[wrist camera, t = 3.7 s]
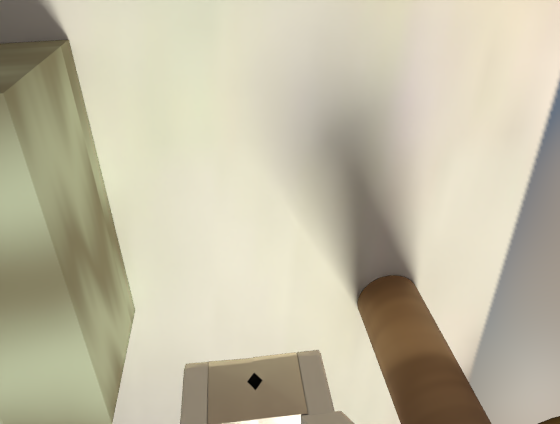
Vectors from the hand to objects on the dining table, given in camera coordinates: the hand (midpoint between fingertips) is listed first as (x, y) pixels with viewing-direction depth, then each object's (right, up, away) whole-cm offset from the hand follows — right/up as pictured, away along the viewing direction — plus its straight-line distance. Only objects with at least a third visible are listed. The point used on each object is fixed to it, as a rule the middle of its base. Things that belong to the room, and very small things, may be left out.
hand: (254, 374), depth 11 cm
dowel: (+6, -1, +13) cm, 14 cm away
